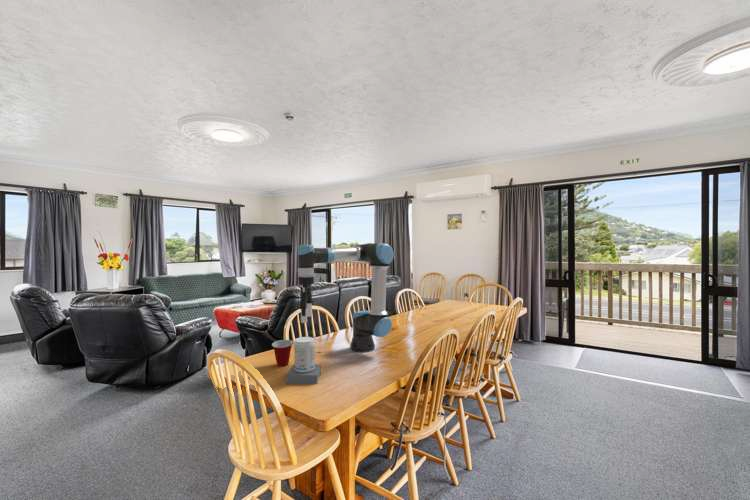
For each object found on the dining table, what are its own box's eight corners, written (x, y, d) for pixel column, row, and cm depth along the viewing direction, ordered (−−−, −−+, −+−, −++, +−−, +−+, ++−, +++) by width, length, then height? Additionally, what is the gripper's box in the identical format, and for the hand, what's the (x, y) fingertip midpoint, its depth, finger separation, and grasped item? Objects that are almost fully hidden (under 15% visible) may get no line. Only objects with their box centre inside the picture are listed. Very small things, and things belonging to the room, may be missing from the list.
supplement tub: (308, 364, 172) (308, 335, 172) (318, 370, 165) (318, 339, 164) (290, 369, 166) (290, 338, 165) (300, 374, 158) (300, 343, 158)
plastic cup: (267, 367, 180) (267, 344, 179) (279, 360, 190) (279, 338, 190) (285, 369, 176) (285, 346, 176) (296, 362, 186) (296, 340, 186)
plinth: (321, 372, 172) (321, 364, 172) (316, 383, 158) (316, 375, 158) (293, 372, 172) (293, 364, 172) (286, 383, 158) (286, 375, 158)
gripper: (303, 273, 181) (303, 314, 182) (292, 279, 156) (293, 325, 157) (317, 273, 181) (317, 313, 182) (309, 278, 157) (310, 325, 157)
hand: (306, 319), depth 169 cm, fingers open, 13 cm apart
